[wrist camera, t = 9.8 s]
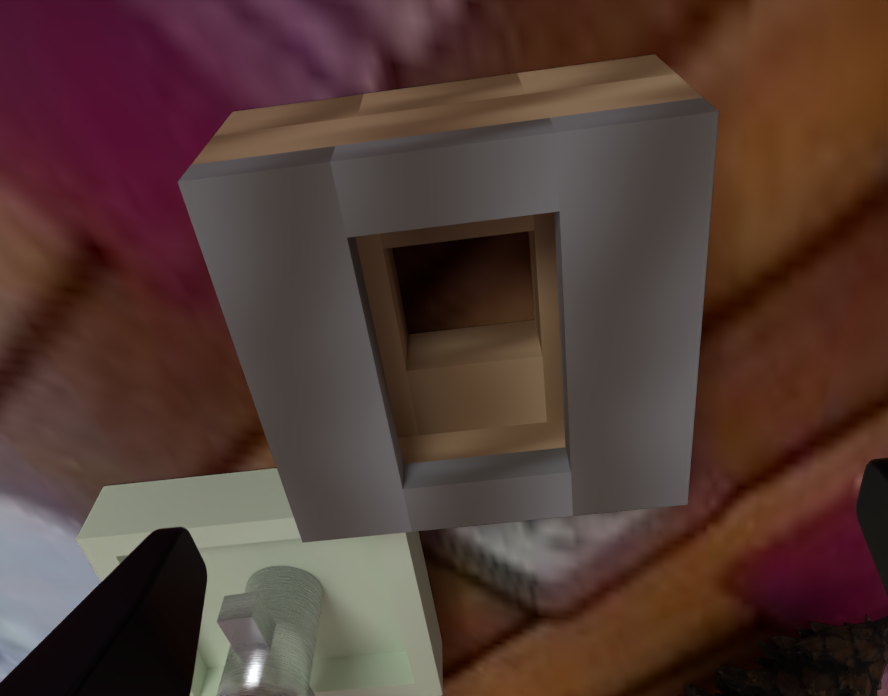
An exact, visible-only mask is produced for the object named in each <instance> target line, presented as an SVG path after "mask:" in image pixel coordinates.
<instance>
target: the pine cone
mask: <svg viewBox="0 0 888 696" xmlns="http://www.w3.org/2000/svg"><path fill="white" fill-rule="evenodd" d="M808 622H809V624H810V626H811V628H812V629H803V628H796V630H797V631H798V632H799V634H800V637H801V639H798V638H792V637H786V636H776V637H771V638H770V639H771V640H772V641H773V642H774V643H775V644H776V645H773V644H769V643H766V642H762V641H758V643H759V646H760V648H761V651H762V653H763V654H764V655H765V656H766V657H767V658H768V659H767V658H761V657H755V659H756V661H755V662H754V663H756V664H758V665H761V666H764V667H762V668H759V669H755V670H746V669H741V668H736V667H731V666H729V667H728V666H726V665H723V666H722V667H720V668H718V669H717V670H718V672H719V674H720V676H719V675H716V686H717V689H719V690H720V691H721V692H722V693H723V694H719V693H715V695H712V694H710V693H708V692H706V691H704V690H702V689H700V688H698V687H696V686H694V685H684V690H685V696H877V690H879V689H881V679H882V676H883V672H884V669H885V666H886V665H887V664H888V616H886V617H884V618H881V619H879V620H877V621H874V622H872V621H871V620H870V619H869V618H868V616H867V615H866V618H865V623H859V624H852V623H844V626H833V625H828V624H823V623H818V622H813V621H808ZM777 645H778V646H777ZM769 665H770V666H769ZM679 696H680V695H679Z"/></svg>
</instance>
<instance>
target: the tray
mask: <svg viewBox="0 0 888 696" xmlns="http://www.w3.org/2000/svg"><path fill="white" fill-rule="evenodd" d="M172 527H184V528H186V529H187V530H188V531H189V533H190V534H191V536H192V538H193V540H194V542H195V544H196V546H197V548H198V550H199V552H200V554H201V556H202V558H203V560H204V562H205V565H206V569H207V586H206V593H205V600H204V607H203V614H202V621H201V628H200V635H199V642H198V649H197V656H196V663H195V670H194V676H193V682H192V688H191V692H190V696H217V692H218V688H219V684H220V681H221V677H222V673H223V670H224V666H225V662H226V658H227V655H228V651H229V647H230V642H229V641H228V639H227V638H226V636H225V634H224V633H223V631H222V630H221V628H220V626H219V625H218V623H217V619H218V616H219V612H220V609H221V606H222V602H223V599H224V596H228V595H235V594H243V593H244V591H245V588H246V584H247V581H248V579H249V578H250V576H251V575H252V574H254V573H255V572H257V571H258V570H260V569H263V568H266V567H271V566H290V567H295V568H299V569H302V570H304V571H306V572H308V573H310V574H311V575H313V576H314V577H315V578H316V579H318V581H319V582H320V583H321V585H322V587H323V591H324V596H323V603H322V609H321V615H320V621H319V628H318V634H317V640H316V646H315V652H314V659H313V665H312V671H311V677H310V684H309V685H310V687H311V689H312V691H313V692H314V694H315V696H443V676H442V639H441V634H440V629H439V625H438V620H437V615H436V611H435V606H434V601H433V597H432V592H431V587H430V583H429V578H428V573H427V569H426V564H425V559H424V555H423V550H422V545H421V541H420V536H419V531H415V532H405V533H395V534H385V535H375V536H365V537H355V538H345V539H334V540H324V541H314V542H304V543H302V540H301V537H300V534H299V531H298V528H297V525H296V522H295V519H294V517H293V514H292V511H291V508H290V505H289V502H288V499H287V496H286V493H285V491H284V488H283V485H282V482H281V479H280V476H279V473H278V470H277V468H274V469H264V470H255V471H245V472H236V473H226V474H217V475H207V476H198V477H188V478H179V479H169V480H160V481H150V482H141V483H131V484H122V485H112V486H104V487H103V489H102V490H101V492H100V494H99V496H98V498H97V500H96V502H95V504H94V506H93V508H92V510H91V512H90V513H89V515H88V517H87V519H86V521H85V523H84V525H83V527H82V529H81V531H80V533H79V534H78V536H77V538H76V541H77V542H78V544H79V546H80V547H81V549H82V551H83V552H84V554H85V556H86V557H87V559H88V561H89V562H90V564H91V566H92V567H93V569H94V571H95V572H96V574H97V576H98V577H99V579H100V581H101V582H102V581H103V580H104V579H105V578H106V577H107V576H108V575H109V574H110V573H111V572H112V571H113V570H114V569H115V568H116V567H117V566H118V565H119V564H120V563H121V562H122V561H123V560H124V559H125V558H126V557H127V556H128V555H129V554H130V553H131V552H132V551H133V550H134V549H135V548H136V547H137V546H138V545H139V544H140V543H141V542H142V541H143V540H144V539H145V538H146V537H147V536H148V535H149V534H150V533H152V532H153V531H155V530H157V529H162V528H172Z"/></svg>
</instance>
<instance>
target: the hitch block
mask: <svg viewBox="0 0 888 696" xmlns="http://www.w3.org/2000/svg"><path fill="white" fill-rule="evenodd" d="M718 115H719V111H718V110H717V109H716V108H714V107H713V106H712V105H711V104H710V103H709V102H708V101H707V100H705V99H704V98H703V97H702V96H701V95H700V94H699V93H698V92H696V91H695V90H694V89H693V88H692V87H691V86H690V85H689V84H688V83H686V82H685V81H684V80H683V79H682V78H681V77H680V76H679V75H677V74H676V73H675V72H674V71H673V70H672V69H671V68H670V67H668V66H667V65H666V64H665V63H664V62H663V61H662V60H661V59H659V58H658V57H657V56H656V55H647V56H640V57H633V58H625V59H618V60H610V61H603V62H596V63H588V64H581V65H574V66H566V67H559V68H552V69H544V70H537V71H529V72H522V73H515V74H507V75H500V76H493V77H485V78H478V79H471V80H463V81H456V82H448V83H441V84H434V85H426V86H419V87H412V88H404V89H397V90H390V91H382V92H375V93H367V94H360V95H353V96H345V97H338V98H331V99H323V100H316V101H309V102H301V103H294V104H286V105H279V106H272V107H264V108H257V109H250V110H242V111H235V112H232V113H231V114H230V116H229V117H228V118H227V120H226V121H225V122H224V123H223V125H222V126H221V127H220V129H219V130H218V131H217V132H216V134H215V135H214V136H213V137H212V139H211V140H210V141H209V143H208V144H207V145H206V146H205V148H204V149H203V150H202V152H201V153H200V154H199V155H198V157H197V158H196V159H195V160H194V162H193V163H192V164H191V166H190V167H189V168H188V169H187V171H186V172H185V173H184V175H183V176H182V177H181V178H180V180H179V181H178V184H179V187H180V190H181V193H182V196H183V199H184V202H185V205H186V207H187V210H188V213H189V216H190V219H191V222H192V225H193V228H194V231H195V233H196V236H197V239H198V242H199V245H200V248H201V251H202V254H203V257H204V259H205V262H206V265H207V268H208V271H209V274H210V277H211V280H212V283H213V285H214V288H215V291H216V294H217V297H218V300H219V303H220V306H221V309H222V311H223V314H224V317H225V320H226V323H227V326H228V329H229V332H230V335H231V337H232V340H233V343H234V346H235V349H236V352H237V355H238V358H239V361H240V363H241V366H242V369H243V372H244V375H245V378H246V381H247V384H248V387H249V389H250V392H251V395H252V398H253V401H254V404H255V407H256V410H257V413H258V415H259V418H260V421H261V424H262V427H263V430H264V433H265V436H266V439H267V441H268V444H269V447H270V450H271V453H272V456H273V459H274V462H275V465H276V467H277V470H278V473H279V476H280V479H281V482H282V485H283V488H284V491H285V493H286V496H287V499H288V502H289V505H290V508H291V511H292V514H293V517H294V519H295V522H296V525H297V528H298V531H299V534H300V537H301V540H302V543H304V542H314V541H324V540H334V539H345V538H355V537H365V536H375V535H385V534H395V533H405V532H415V531H425V530H436V529H446V528H456V527H466V526H476V525H486V524H496V523H506V522H516V521H527V520H537V519H547V518H557V517H567V516H577V515H587V514H597V513H607V512H618V511H628V510H638V509H648V508H658V507H668V506H678V505H687V503H688V491H689V478H690V465H691V453H692V440H693V428H694V415H695V403H696V390H697V378H698V365H699V353H700V340H701V328H702V315H703V303H704V290H705V278H706V265H707V252H708V240H709V227H710V215H711V202H712V190H713V177H714V165H715V152H716V140H717V127H718ZM526 231H528V233H529V247H530V262H531V276H532V290H533V304H534V319H535V320H529V321H520V322H512V323H503V324H494V325H486V326H477V327H468V328H460V329H451V330H442V331H434V332H425V333H416V334H408V330H407V325H406V319H405V314H404V308H403V303H402V298H401V292H400V287H399V281H398V276H397V271H396V265H395V260H394V254H393V249H392V248H396V247H404V246H412V245H420V244H428V243H436V242H445V241H453V240H461V239H469V238H477V237H485V236H493V235H502V234H510V233H518V232H526Z"/></svg>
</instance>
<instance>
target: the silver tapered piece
mask: <svg viewBox="0 0 888 696" xmlns="http://www.w3.org/2000/svg"><path fill="white" fill-rule="evenodd" d="M323 596H324V591H323V587H322V585H321V583H320V582H319V581H318V579H316V578H315V577H314V576H313V575H311V574H310V573H308V572H306V571H304V570H302V569H299V568H295V567H290V566H271V567H266V568H263V569H260V570H258V571H257V572H255V573H254V574H252V575H251V576H250V578H249V579H248V581H247V584H246V588H245V591H244V593H243V594H235V595H228V596H224V599H223V602H222V606H221V609H220V612H219V616H218V619H217V623H218V625H219V626H220V628H221V630H222V631H223V633H224V634H225V636H226V638H227V639H228V641H229V642H230V647H229V651H228V655H227V658H226V662H225V666H224V670H223V673H222V677H221V681H220V684H219V688H218V692H217V696H315V694H314V692H313V691H312V689H311V687H310V685H309V684H310V677H311V671H312V665H313V659H314V652H315V646H316V640H317V634H318V628H319V621H320V615H321V609H322V603H323Z"/></svg>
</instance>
